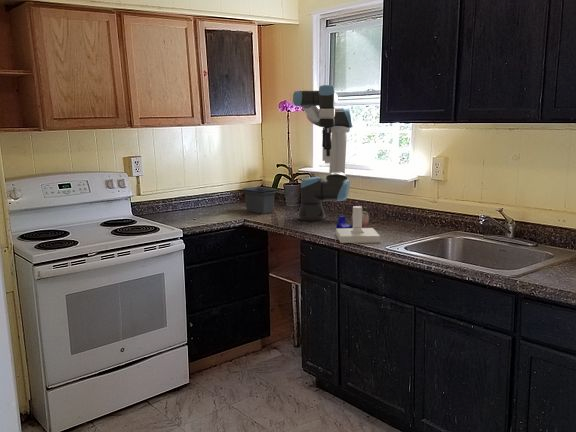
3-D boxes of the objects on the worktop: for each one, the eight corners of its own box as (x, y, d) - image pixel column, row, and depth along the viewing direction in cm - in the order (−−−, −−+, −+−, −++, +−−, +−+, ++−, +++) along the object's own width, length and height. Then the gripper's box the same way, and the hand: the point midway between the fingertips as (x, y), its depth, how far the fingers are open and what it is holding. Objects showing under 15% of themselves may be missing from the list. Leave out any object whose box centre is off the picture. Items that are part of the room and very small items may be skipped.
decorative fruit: (371, 227, 286) (371, 208, 284) (366, 230, 279) (366, 210, 277) (354, 226, 290) (354, 207, 288) (348, 228, 283) (349, 209, 281)
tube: (360, 239, 259) (360, 207, 256) (351, 238, 260) (351, 207, 258) (362, 237, 262) (363, 206, 260) (354, 236, 264) (354, 205, 261)
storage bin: (240, 211, 339) (239, 187, 336) (260, 208, 349) (259, 185, 346) (261, 215, 323) (261, 191, 320) (282, 212, 333) (281, 188, 330)
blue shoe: (336, 228, 285) (336, 216, 284) (342, 227, 288) (342, 215, 287) (352, 232, 276) (352, 220, 275) (359, 230, 279) (359, 219, 277)
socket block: (336, 234, 270) (336, 228, 269) (372, 234, 270) (372, 227, 270) (340, 242, 252) (340, 236, 252) (379, 242, 253) (379, 235, 252)
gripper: (316, 117, 280) (316, 159, 284) (321, 118, 255) (321, 164, 259) (331, 117, 280) (331, 159, 284) (337, 118, 255) (337, 164, 259)
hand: (326, 162), depth 271 cm, fingers open, 13 cm apart
